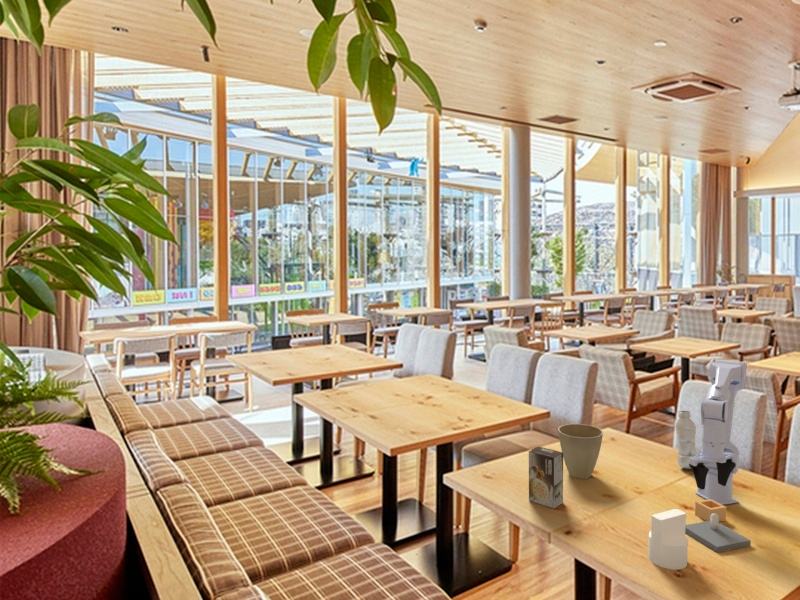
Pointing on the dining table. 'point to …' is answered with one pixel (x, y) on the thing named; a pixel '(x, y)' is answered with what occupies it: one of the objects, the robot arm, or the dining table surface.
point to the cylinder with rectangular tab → (668, 540)
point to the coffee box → (546, 477)
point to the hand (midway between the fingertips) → (711, 486)
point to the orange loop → (709, 509)
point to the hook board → (716, 535)
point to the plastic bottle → (685, 438)
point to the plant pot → (580, 448)
